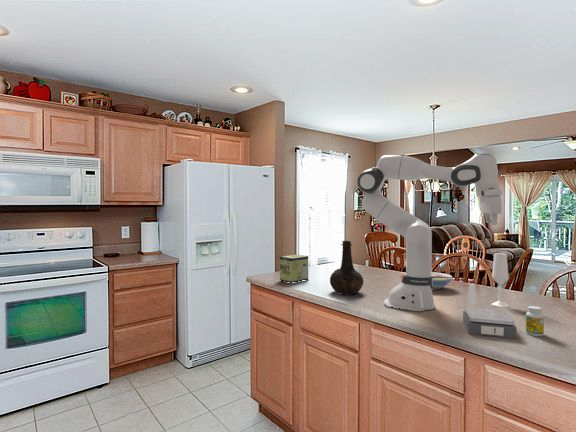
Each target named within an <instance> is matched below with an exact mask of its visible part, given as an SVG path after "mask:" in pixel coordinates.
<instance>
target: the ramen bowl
mask: <svg viewBox="0 0 576 432" xmlns="http://www.w3.org/2000/svg"><path fill="white" fill-rule="evenodd" d="M432 278H433V287H432V291H435V290H439V289H442V288H445V287H446V286H448V285H449V284H450V283H451V281H452V280H453V279H455V278H456V279H458V276H452V275H451V274H448V273H441V272H435V271H432Z"/></svg>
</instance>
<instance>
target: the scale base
mask: <svg viewBox="0 0 576 432" xmlns="http://www.w3.org/2000/svg"><path fill="white" fill-rule="evenodd" d="M462 322H463V324H464V326H465V329H466V331H467V333H468V335H479V336H486V337H487V336H489V337H498V338H499V337H500V338H507V339H508V338H509V339H517V326H516V325H515V324H514V325H507V324H496V323H485V322H474V321H470V320H469V318H468V316H467V314H466V312H465V310H463V311H462Z"/></svg>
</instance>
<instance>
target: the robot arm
mask: <svg viewBox="0 0 576 432" xmlns="http://www.w3.org/2000/svg"><path fill="white" fill-rule="evenodd" d="M498 174H499V170H498V163H497V159H496V157H495V156H494V155H493V154H491V153H477V154H474V155H473V156H472V157H470V159H468V160H466V161H465V162H462V163H460V164H458V165H456V166H451V167H448V166H441V165H433V164H430V163H427V162H424V161H423V160H421V159H419V158H417V157H413V156H409V155H401V154H400V155H398V154H396V155H395V154H391V155H390V154H387V155H382V156H381V157H379V159H378V161H377V164H376V166H373V167H371V168H368V169H366V170H363V171H362V172H361V173H360V174H359V175H358V177H357V182H356V183H357V186H358V189H359V190H360V191H362V192H363V193H364V196H363V198H362V199H361V207H362V209H364V210H365V212H367V214H369V216H371V217H372V218H374V219H375V220H377V221H379V223H381V224H382V225H384V226H385V227H387V228H388V229H390V230H392V231H394V232H395V233H397V234H399V235H400V236H402V237H403V238H405V259H406V261H405V267H406V268H405V273H402V274H401V275H400V278H401V283H399V284H398V285H397V284H396V286H394V287H393V288H392V289H391V290H389V291H390V292H389V294H388V297H387V298H386V299H385V300H384V301H383V305H384V304H385V305H386V306H385V305H384V306H385V307H387V308H391V307H393V308H392V309H399V308H400V309H401V310H406V309H407V310H408V311H414V312H415V311H416V312H423V311H428V310H433V309H435V308H436V306H435V302H434V295H433V290H432V287H433V278H432V272H433V271H432V266H433V265H432V262H433V260H432V257H433V256H432V252H433V250H432V249H433V245H432V244H433V242H432V241H433V239H432V238H433V232H432V229H431V227H430V225H429V224H428V223H426V222H425V221H424V220H421V219H420V218H418V217H417V216H415V215H414V214H412V213H411V212H409V211H407V210H406V209H404V208H402V207H401V206H399V205H398V204H397V203H395V202H393V201H392V200H390V199H389V198H387V197H385V196H384V195H383V194H382V193H383V191H384V188H385V184H386V180H388V179H390V180H391V179H392V180H393V179H394V180H401V181H417V180H424V179H426V180H427V179H428V180H429V179H431V180H438V181H445V182H449V183H451V184H452V185H454V186H456V187H457V188H466V187H469V186H470V185H472V184H475V193H476V197H477V198H478V197H479V209H480V210H479V211H480V212H481V213H483V215H484V217H485V223H487V224H490V223H491V225H493V226H497V225H498V215H501V214H502V210H503V209H502V196H501V195H503V190H502V189H501V186H500V181H499V178H498Z"/></svg>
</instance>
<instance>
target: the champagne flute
mask: <svg viewBox="0 0 576 432" xmlns="http://www.w3.org/2000/svg"><path fill="white" fill-rule="evenodd" d="M507 255H508V254H507V253H503V252H495V253H494V255H493V256H494V257H493V265H492V272H491V277H492V280H493V281H495V283H497V284H498V300H497V301H495V302H492V303H491V305H493V306H496V307H500V308H506V307H509V305H508V304H507V303H505V302H504V301H502V290H503V289H502V287H503V285H504V284H505V283H506V282H507V281H508V280H509V278H510V277H509V268H508V267H509V266H508V256H507Z"/></svg>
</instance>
